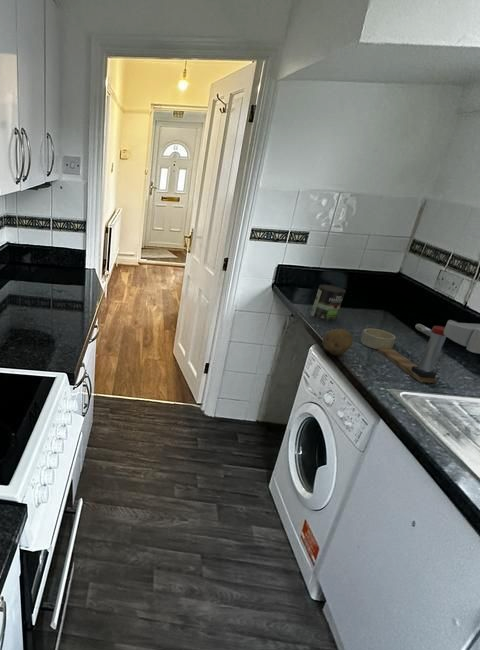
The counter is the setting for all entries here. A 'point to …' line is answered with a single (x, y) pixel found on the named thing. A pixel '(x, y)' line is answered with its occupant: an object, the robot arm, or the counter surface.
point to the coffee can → (327, 302)
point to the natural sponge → (337, 341)
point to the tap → (430, 350)
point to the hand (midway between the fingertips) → (466, 323)
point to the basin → (377, 339)
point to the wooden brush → (404, 364)
